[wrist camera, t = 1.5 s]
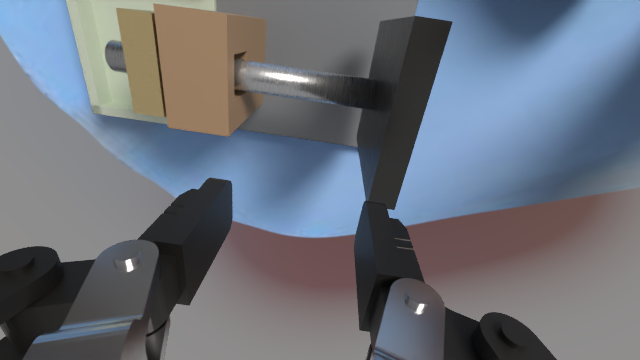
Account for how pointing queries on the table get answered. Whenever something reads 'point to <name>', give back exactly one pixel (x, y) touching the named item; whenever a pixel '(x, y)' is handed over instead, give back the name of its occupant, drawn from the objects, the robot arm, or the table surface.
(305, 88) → the shaft
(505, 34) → the table surface
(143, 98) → the spacer
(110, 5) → the shaft rig
